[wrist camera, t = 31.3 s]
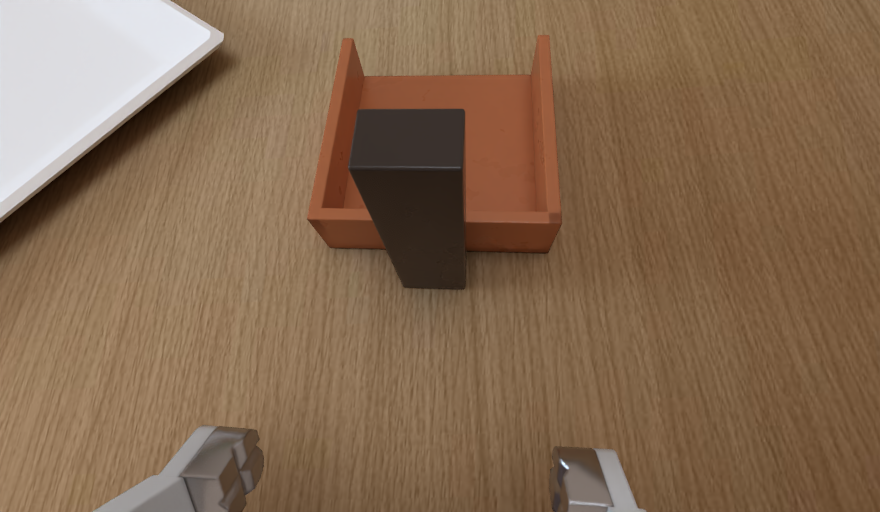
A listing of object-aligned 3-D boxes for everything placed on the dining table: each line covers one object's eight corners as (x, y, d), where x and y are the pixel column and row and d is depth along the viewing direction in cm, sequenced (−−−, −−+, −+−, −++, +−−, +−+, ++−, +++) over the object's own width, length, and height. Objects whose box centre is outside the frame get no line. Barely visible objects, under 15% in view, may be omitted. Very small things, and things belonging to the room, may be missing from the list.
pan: (550, 292, 19) (627, 171, 10) (323, 285, 20) (198, 167, 11) (539, 82, 24) (584, -131, 15) (357, 83, 25) (292, -117, 16)
